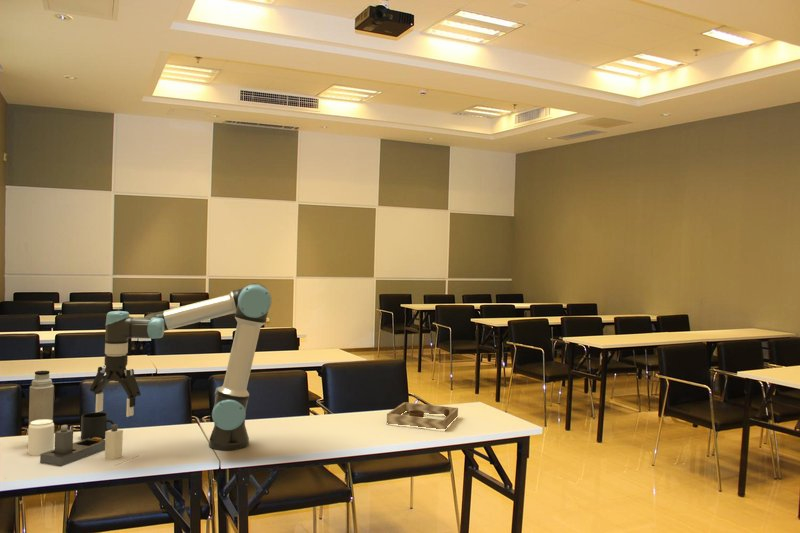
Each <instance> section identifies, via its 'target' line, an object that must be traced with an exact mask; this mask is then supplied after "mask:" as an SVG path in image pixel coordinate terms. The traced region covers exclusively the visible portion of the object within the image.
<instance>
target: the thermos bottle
mask: <svg viewBox="0 0 800 533" xmlns="http://www.w3.org/2000/svg"><path fill="white" fill-rule="evenodd" d="M54 390H55V386H54V384H53V380H52V379H51V378H50V370H36V371H34V378H33V380H31V385H30V386H29V397H28V398H29V401H28V402H29V403H28V404H29V405H28V426H29V425H30V422H32V421H35V420H41V419H50V420H53V421H54V419H53V418H54V393H55V392H54Z"/></svg>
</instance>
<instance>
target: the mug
mask: <svg viewBox="0 0 800 533" xmlns="http://www.w3.org/2000/svg"><path fill="white" fill-rule="evenodd" d="M108 416H109V414H108V413H106V412H104V411H100V412H95V411H94V412H89V413H88V412H87V413H85V414H84V413H83V414H82V415H81V418H80V419H81V422H80V423H81V424H80V425H81V426H80V439H81V440H84V439H87V438H94V437H97V438H102V439H103V440H105V432H106V431H108V430H111V427H110V428H108V423H110V424H111V425H114V424H115V423H114V420H111V419H108V418H109V417H108Z"/></svg>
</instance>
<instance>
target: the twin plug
mask: <svg viewBox="0 0 800 533" xmlns="http://www.w3.org/2000/svg"><path fill="white" fill-rule="evenodd" d="M73 443H74V430H73V429H72V430H71V429H68V424H63V425H61V426H60V429H59V430H57V431H54V449H55V450H54V453H56V454H62V455H64V454H67V453H70V452H73Z"/></svg>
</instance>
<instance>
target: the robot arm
mask: <svg viewBox="0 0 800 533" xmlns="http://www.w3.org/2000/svg"><path fill="white" fill-rule="evenodd" d="M271 305H272V297H271V292H269V289H268V288H266V286H264V285H262V284H260V283H250V284H248V285H247V284H246V285H245V286H243V287H241V288H238V289H234V290H230V293H228V294H225V295H220V296H218V297H213V298H209V299H206V300H201V301H197V302H194V303H190V304H186V305H182V306H178V307H174V308H170V309H166V310H163V311H158V312H152V313H148V314H146V316H144V317H141V316H140V317H134V316H130V313H129V312H128V311H123V310H114V311H109V312H107V313H106V319H105V325H104V326H105V342H104V354H105V355H104V362H103V364H104V365H102V366H98V367H97V373H96V375H95V377H94V379H93V381H92V384H91V386H90V388H89V392H93V393H94V403H95V411H94V412H104V411H103V410H104V392H103V391H104V389H105V387H107V385H108V384H109V383H110V381H114V382H118V384H120V385H121V386H122V388H123V390H124V391H125V393H126V395H127V396H128V397H127V398H126V412H125V414H126V416H125V417H127V418H129V417H132V416H134V408H135V407H136V398H137V397H139V396H141V395H142V393H141V390H140V387H139V384H138V382H137V379H136V376H135V370H134V369H133V368H131V369H130V368H129V369H127V366H128V360H129V359H128V358H129V357H128V356H129V355H128V353H129V352H128V351H129V350H128V349H129V339H152V340H154V339H161V338H163V337H164V335H165V332H166V331H170V330H172V329H173V330H175V329H176V328H181V327H184V326H188V325H192V324H196V323H200V322H204V321H205V322H206V321H209V320H212V319H215V318H216V319H217V318H220V317H223V316H227V315H231V314H232V315H233V314H234V318H235V320H236V322H237V325H236V328H235V332H234V337H233V342H232V346H231V349H230V354H229V358H228V362H227V366H226V372H225V376H224V380H223V384H222V386H218V387H216V388H215V391H214V396H215V398H214V405H213V409H212V411H211V417H212V418H211V419H212V421H213V424H214V425H213V428H212V432H211V433H210V436H209V440H208V446H209V448H211V449H213V450H219V451H235V450H240V449H244V448H247V447H248V446H249V444H250V438H249V434H248V430H247V428H246V416H247V415H246V412H247V408H248V407H247V406H248V402H249V398H250V392H249V391H248V389H247V388H248V383H249V379H250V374H251V371H252V366H253V362H254V358H255V354H256V349H257V345H258V341H259V335H260V331H261V327H262V326H264V325H265V324H266V323H267V319H268V316H269V315H268V314H269V310H270V308H271Z"/></svg>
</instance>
